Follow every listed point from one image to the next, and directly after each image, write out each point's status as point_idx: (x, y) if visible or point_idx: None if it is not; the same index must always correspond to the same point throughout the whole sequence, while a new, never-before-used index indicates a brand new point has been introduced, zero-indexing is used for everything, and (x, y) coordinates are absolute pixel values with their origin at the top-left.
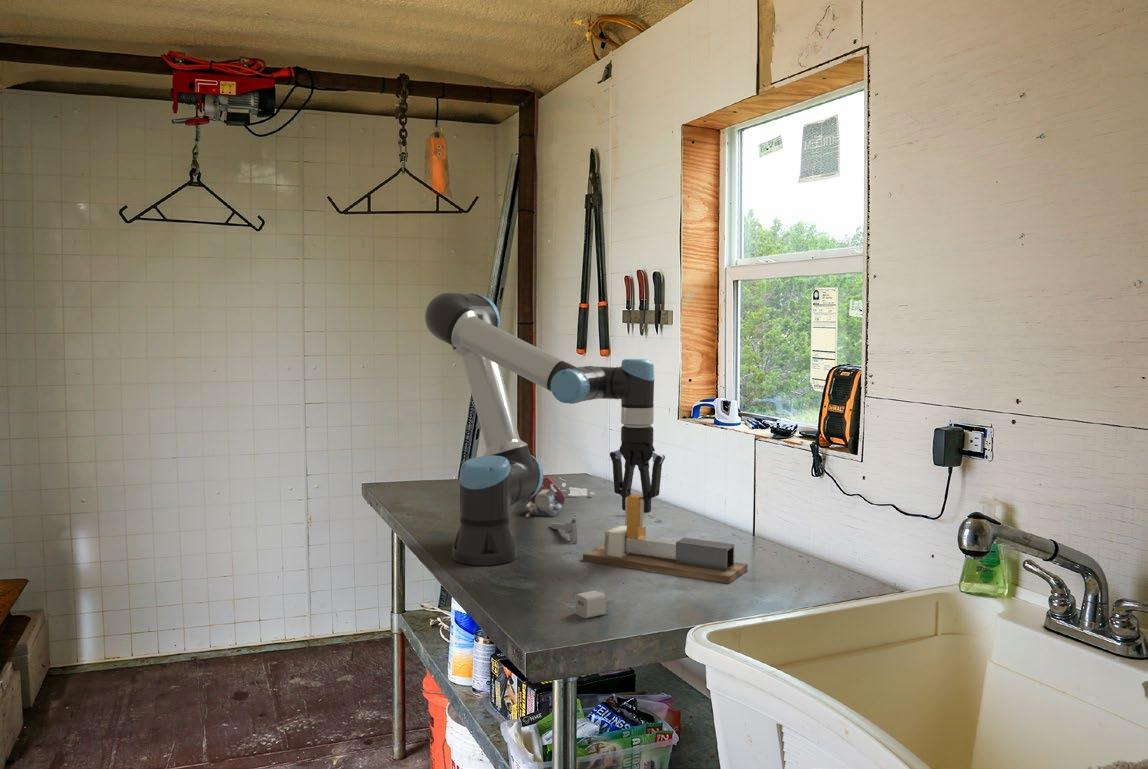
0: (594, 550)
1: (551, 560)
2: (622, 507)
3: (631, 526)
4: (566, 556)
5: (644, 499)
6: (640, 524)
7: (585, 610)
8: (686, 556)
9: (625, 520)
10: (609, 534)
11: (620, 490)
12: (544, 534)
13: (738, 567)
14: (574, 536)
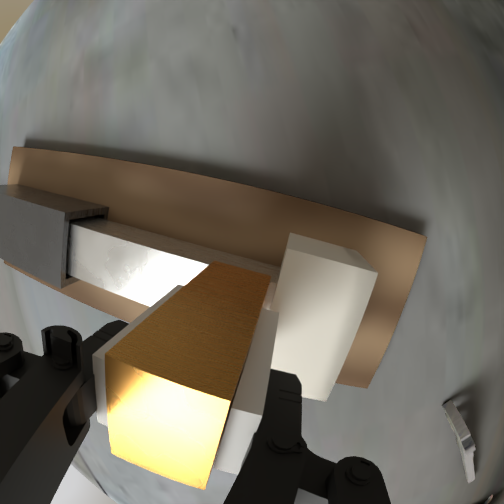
0: (398, 296)
1: (492, 209)
2: (298, 385)
3: (236, 285)
4: (466, 267)
5: (67, 329)
6: None
7: None
8: (66, 201)
9: (275, 324)
10: (352, 264)
11: (318, 488)
12: (495, 431)
13: None
14: (454, 410)
